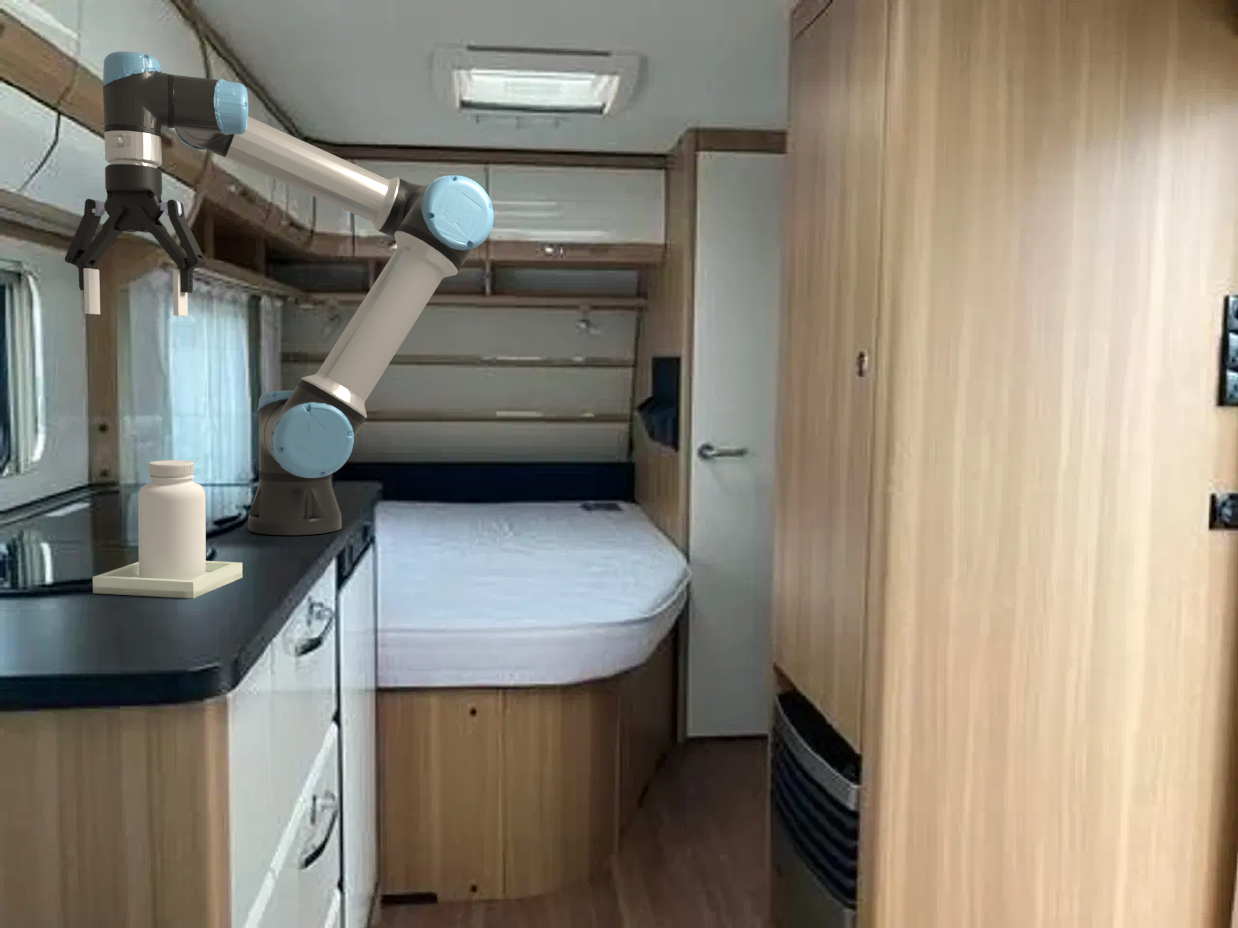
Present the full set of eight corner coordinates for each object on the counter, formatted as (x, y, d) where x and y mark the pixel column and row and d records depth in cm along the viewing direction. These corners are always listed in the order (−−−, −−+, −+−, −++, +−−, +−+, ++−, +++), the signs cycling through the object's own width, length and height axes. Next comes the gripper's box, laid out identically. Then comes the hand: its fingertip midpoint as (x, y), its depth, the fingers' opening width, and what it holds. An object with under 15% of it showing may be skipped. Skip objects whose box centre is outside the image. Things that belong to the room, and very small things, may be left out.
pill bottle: (152, 588, 136) (150, 466, 134) (130, 577, 142) (127, 460, 140) (216, 580, 141) (215, 463, 139) (192, 570, 147) (190, 457, 145)
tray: (150, 572, 148) (149, 557, 148) (242, 577, 147) (242, 562, 147) (93, 592, 136) (92, 576, 135) (193, 598, 134) (193, 582, 134)
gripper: (35, 161, 157) (40, 312, 159) (203, 162, 154) (205, 315, 156) (67, 170, 164) (71, 314, 166) (228, 171, 162) (229, 317, 164)
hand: (136, 315), depth 161 cm, fingers open, 13 cm apart
